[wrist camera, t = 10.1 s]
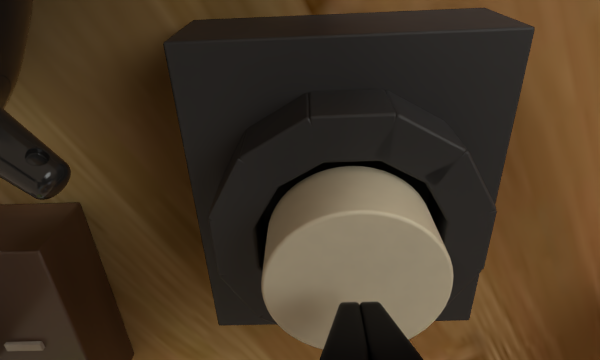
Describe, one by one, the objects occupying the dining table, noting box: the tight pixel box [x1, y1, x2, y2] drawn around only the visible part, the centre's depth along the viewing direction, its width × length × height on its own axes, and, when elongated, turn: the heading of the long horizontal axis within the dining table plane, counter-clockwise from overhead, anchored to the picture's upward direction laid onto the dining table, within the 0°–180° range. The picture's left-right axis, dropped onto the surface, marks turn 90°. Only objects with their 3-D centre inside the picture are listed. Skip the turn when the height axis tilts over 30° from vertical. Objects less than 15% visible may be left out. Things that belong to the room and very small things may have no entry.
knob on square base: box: [163, 8, 534, 325], centre depth 13 cm, size 9×10×5 cm
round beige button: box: [261, 166, 453, 349], centre depth 11 cm, size 4×4×2 cm
